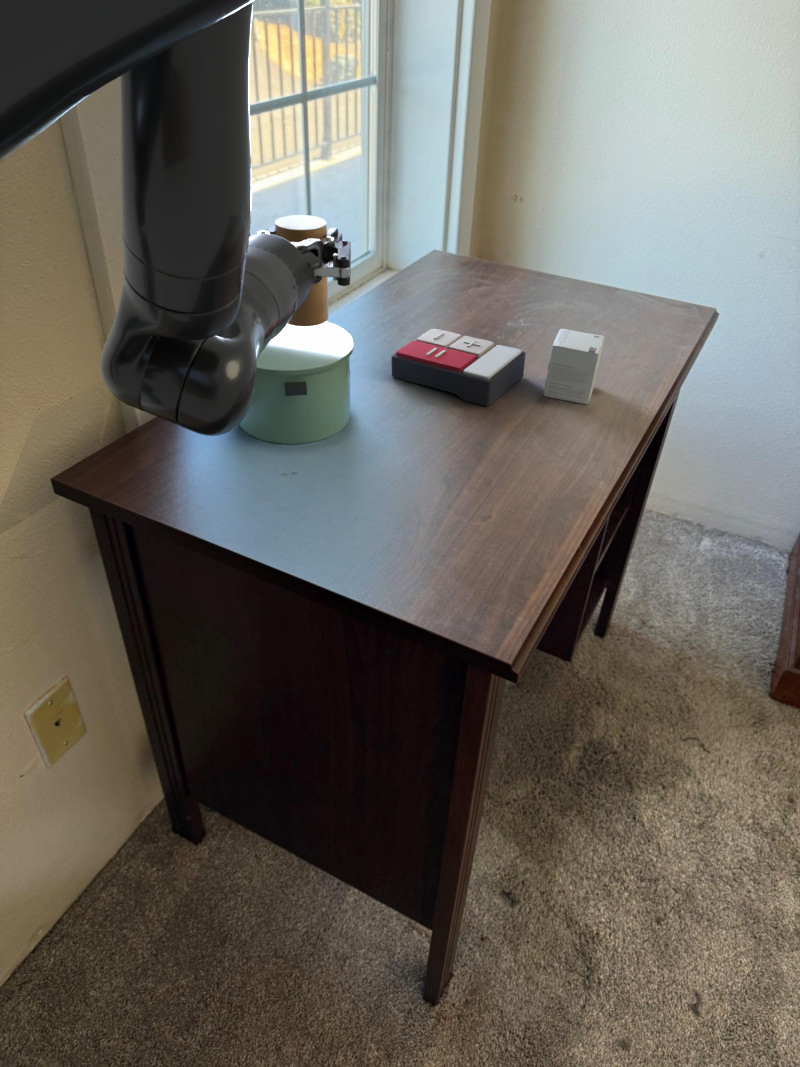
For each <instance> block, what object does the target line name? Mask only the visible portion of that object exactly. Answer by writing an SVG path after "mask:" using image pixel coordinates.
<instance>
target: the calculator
mask: <svg viewBox="0 0 800 1067" xmlns="http://www.w3.org/2000/svg"><path fill="white" fill-rule="evenodd" d="M390 359H391V376H392V377H393V378H395V379H400V380H404V381H408V382H411V383H414V384H418V385H422V386H426V387H430V388H433V389H437V390H441V391H444V392H449V393H450V394H451V393H452V394H456V395H457V396H458V397H459V398H460V399H462V401H465V402H468V403H469V402H470V403H473V404H477V405H480V406H484V407H489V406H491V405H492V404H493V403H494V402H495V401H496V400H498V399H499V398H501V396H502V395H503V394H505V393H506V392H507V391H508V390H509V389H510V388H512V387H513V386H514V385H515V384H516V383H517V382H518V381H520V380H521V379H522V378H523V377H524V373H525V363H526V352H525V351H523V350H522V349H521V348H520V349H519V348H516V347H511V346H506V345H502V344H495V342H494V341H492V340H491V341H490V340H487V339H483V338H478V337H473V336H469V335H463V336H462V334H460V333H456V332H452V331H447V330H445V329H438V328H434V327H433V328H431V329H429V330H428V331H426V332H424V333H423V334H421V335H419V336H418V337H417V338H416V339H415V340H412V341H410V342H409V343H407V344H405V345H404V346H402V347H400V348H399V349H397V350H396V352H395V353H394V354H392V355H391V358H390Z"/></svg>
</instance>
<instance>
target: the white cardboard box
mask: <svg viewBox="0 0 800 1067" xmlns="http://www.w3.org/2000/svg"><path fill="white" fill-rule="evenodd" d="M604 342H605V335H600V334H594V333H590V332H589V333H588V332H582V331H577V330H572V329H567V328H559V330H558V333H557V334H556V337H555V338H554V341H553V342H552V343H553V344H552V346H551V352H550V358H549V362H548V368H547V374H546V378H545V384H544V389H543V396H544V397H546V398H549V399H556V400H560V401H566V402H571V403H577V404H583V405H589V403H590V401H591V398H592V396H593V395H592V394H593V392H594V387H595V384H596V379H597V374H598V370H599V367H600V366H599V365H600V360H601V356H602V351H603V347H604Z"/></svg>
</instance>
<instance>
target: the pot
mask: <svg viewBox="0 0 800 1067" xmlns="http://www.w3.org/2000/svg"><path fill="white" fill-rule="evenodd" d="M354 346H355V345H354V339H353V337H352V335H351V334H350V333H349V332H348V331H347V330H346V329H344V328H343V327H341V326H339V325H337V324H336V323H333V322H329V321H326V322H324V323H322V324H320V325H316V326H309V327H300V326H293V325H289V324H287V325H286V326H285V328H284V329H283V330H282V331H281V332H280V333H279V334H278V335H277V336H276V337H275V338H273V339H272V340H271V341H270V342H269V343H268V345H267V346H266V347H265V349H264V350H263V351H262V353H261V354H260V356H259V359H258V361H257V373H256V384H255V390H254V395H253V399H252V402H251V405H250V408H249V410H248V412H247V414H246V416H245V418H244V419H243V421H242V422H241V423H240V424H239V425H238V426H239V427H240V428H241V429H242V430H243V431H244V432H245V433H247V434H248V435H250V436H252V437H254V438H255V439H259V440H261V441H265V442H268V443H273V444H280V445H281V444H282V445H300V444H301V445H302V444H309V443H314V442H319V441H322V440H325V439H327V438H331V437H333V436H334V435H336V434H338V433H339V432H340V431H343V429H344V428H345V427H346V426H347V425H348V423H349V422H350V419H351V355H352V354H353V352H354Z"/></svg>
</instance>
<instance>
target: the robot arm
mask: <svg viewBox="0 0 800 1067" xmlns="http://www.w3.org/2000/svg"><path fill="white" fill-rule="evenodd" d="M254 1H255V0H0V164H1V163H2V162H4V161H5V160H7V159H8V158H10V157H11V156H13V154H16V152H18V151H19V150H20V149H21V148H23V147H24V146H26V145H27V144H29V143H30V142H31V141H32V140H34V139H35V138H36V137H37V136H39V135H40V134H42V133H43V132H44V131H46V130H47V129H49V127H50V126H52V125H53V124H54V123H55V122H57V121H58V120H59V119H60V118H62V117H63V116H64V115H65V114H67V113H68V112H69V111H71V110H72V109H73V108H75V107H76V106H77V105H79V103H81V102H83V101H84V100H85V99H86V98H88V97H90V96H91V95H93V94H94V93H96V92H98V91H99V90H100V89H102V88H103V87H105V86H107V85H108V84H110V83H112V82H113V81H115V80H116V79H118V78H119V77H120V82H119V83H120V88H119V89H120V198H121V199H120V206H121V208H120V209H121V210H120V211H121V212H120V213H121V214H120V215H121V216H120V217H121V236H122V237H121V242H122V262H123V265H122V266H123V283H122V288H121V293H120V298H119V302H118V306H117V310H116V314H115V317H114V321H113V323H112V326H111V328H110V330H109V332H108V335H107V337H106V340H105V343H104V345H103V348H102V351H101V355H100V360H99V362H100V363H99V368H100V369H99V370H100V374H101V378H102V380H103V382H104V384H105V386H106V387H107V389H108V390H109V391H110V393H111V394H112V395H113V396H114V397H115V398H116V399H117V400H118V401H120V402H122V403H123V404H125V405H126V406H127V405H128V406H130V407H132V408H135V409H137V410H140V411H141V412H144V413H147V414H150V415H152V416H154V417H157V418H160V419H161V420H164V421H167V422H169V423H171V424H174V425H175V426H180V427H181V428H183V429H186V430H188V431H191V432H193V433H196V434H199V435H203V436H209V437H215V436H221V435H224V434H227V433H230V432H231V431H233V430H234V429H236V428H237V427H238V426H240V425H239V424H240V423H241V422H242V421H243V419H244V418H245V416H246V414H247V412H248V410H249V408H250V405H251V402H252V399H253V395H254V390H255V384H256V373H257V361H258V359H259V356H260V354H261V353H262V351H263V350H264V349H265V347H266V346H267V345H268V343H269V342H270V341H271V340H272V339H273V338H275V337H276V336H277V335H278V334H279V333H280V332H281V331H282V330H283V329H284V328H285V326H286V325H287V324H288V322H289V321H290V320H291V318H292V317H293V316H294V314H295V313H296V312H297V311H298V309H299V308H300V307H301V305H302V304H303V303H304V301H305V299H306V298H307V296H308V293H309V291H310V288H311V286H312V285H313V284H316V283H318V282H320V281H321V280H322V277H328V278H332V280H333V281H337V285H338V286H341V287H347V286H350V285H351V271H352V251H351V250H352V247H351V246H352V242H351V241H349V240H347V239H343V233H342V232H339V228H337V227H330V228H329V229H327V233H326V234H325V235H324V236H323V238H321V239H319V240H318V239H314V238H308V239H306V240H303V241H301V242H298V243H295V242H291V243H290V242H289V241H287V240H286V239H284V238H282V237H279V236H277V235H276V233H275V224H274V225H273V226H269V227H267V229H266V230H263V229H262V230H259V231H257V232H256V233H257V234H254V235H252V234H251V223H252V206H253V205H252V202H253V201H252V199H253V187H252V185H253V182H252V180H253V179H252V178H253V177H252V174H253V173H252V148H251V147H252V145H251V115H250V113H251V112H250V110H251V109H250V108H251V107H250V57H251V56H250V55H251V37H252V36H251V34H252V21H253V9H254V8H253V7H254Z"/></svg>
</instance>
